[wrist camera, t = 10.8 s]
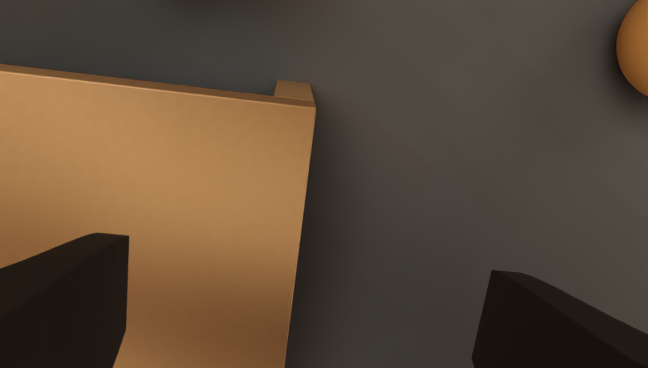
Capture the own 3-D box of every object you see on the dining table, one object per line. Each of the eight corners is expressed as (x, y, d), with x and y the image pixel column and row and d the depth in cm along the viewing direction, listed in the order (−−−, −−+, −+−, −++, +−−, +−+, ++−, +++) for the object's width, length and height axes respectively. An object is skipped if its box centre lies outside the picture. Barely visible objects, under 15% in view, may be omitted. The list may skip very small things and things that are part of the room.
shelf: (275, 377, 24) (270, 506, 18) (-197, 341, 23) (-381, 469, 16) (310, 83, 21) (319, 118, 15) (-243, 16, 19) (-496, 23, 13)
